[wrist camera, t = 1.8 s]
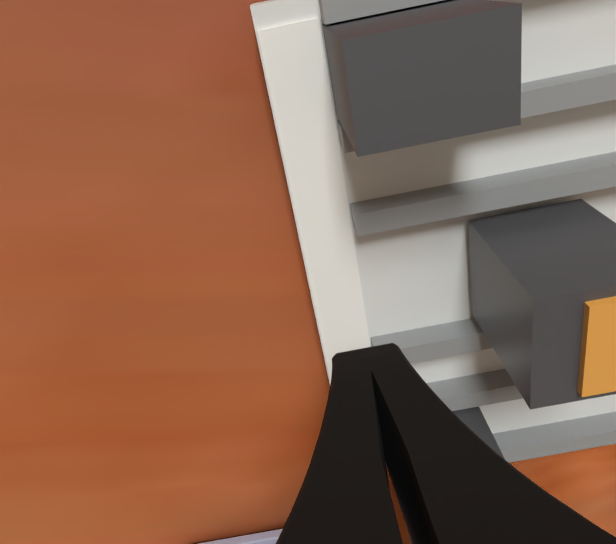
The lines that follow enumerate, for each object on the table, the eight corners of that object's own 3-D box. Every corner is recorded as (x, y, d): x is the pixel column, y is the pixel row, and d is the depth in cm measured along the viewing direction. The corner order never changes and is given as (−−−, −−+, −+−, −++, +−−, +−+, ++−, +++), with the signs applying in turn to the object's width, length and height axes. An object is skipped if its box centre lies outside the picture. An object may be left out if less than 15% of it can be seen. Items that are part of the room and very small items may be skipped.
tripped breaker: (574, 294, 16) (668, 391, 12) (471, 313, 16) (534, 416, 12) (581, 198, 14) (690, 276, 10) (467, 220, 14) (537, 304, 11)
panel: (652, 389, 20) (757, 501, 15) (343, 445, 20) (364, 569, 16) (737, -98, 12) (977, -137, 8) (251, 3, 13) (242, 15, 9)
